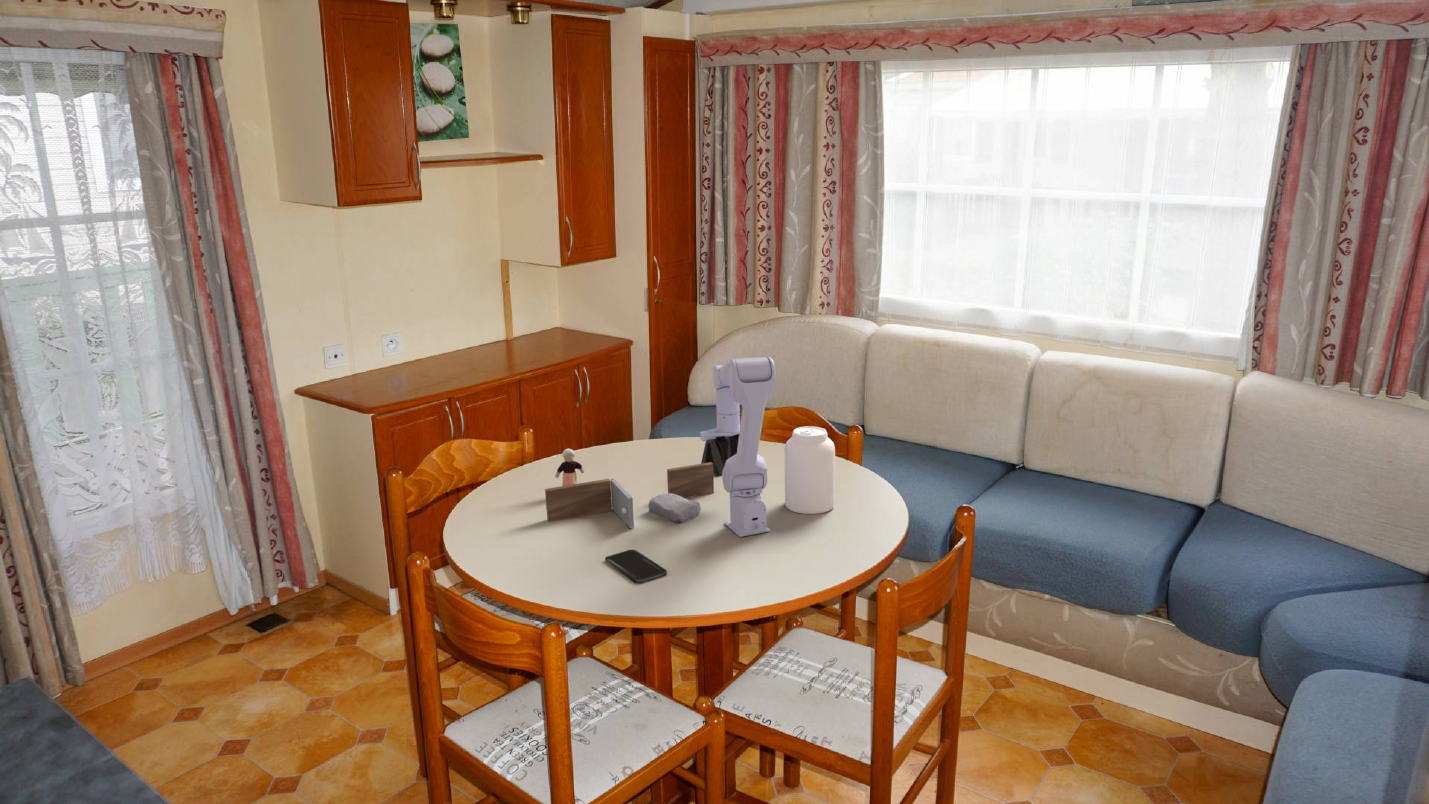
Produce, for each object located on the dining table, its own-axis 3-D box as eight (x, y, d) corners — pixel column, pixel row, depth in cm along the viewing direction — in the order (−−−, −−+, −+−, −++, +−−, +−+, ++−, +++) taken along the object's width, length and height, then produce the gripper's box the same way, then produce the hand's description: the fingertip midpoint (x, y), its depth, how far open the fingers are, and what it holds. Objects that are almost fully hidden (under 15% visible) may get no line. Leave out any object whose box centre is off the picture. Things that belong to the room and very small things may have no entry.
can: (809, 519, 239) (809, 441, 234) (774, 505, 248) (773, 429, 243) (845, 506, 247) (846, 430, 241) (809, 493, 256) (809, 419, 251)
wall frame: (713, 492, 258) (713, 463, 256) (548, 521, 242) (546, 490, 240) (711, 490, 259) (710, 462, 257) (547, 519, 243) (544, 489, 241)
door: (606, 508, 248) (605, 480, 246) (615, 506, 249) (613, 478, 247) (624, 529, 235) (623, 499, 233) (633, 527, 236) (632, 497, 234)
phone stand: (736, 471, 273) (735, 430, 270) (719, 476, 270) (718, 434, 266) (717, 463, 280) (716, 423, 277) (700, 468, 277) (699, 427, 274)
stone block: (673, 509, 253) (644, 512, 246) (676, 491, 252) (646, 494, 245) (705, 522, 245) (676, 526, 238) (708, 504, 244) (678, 507, 237)
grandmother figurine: (561, 499, 256) (558, 453, 252) (555, 495, 259) (551, 449, 256) (588, 493, 260) (585, 447, 256) (581, 489, 263) (578, 443, 260)
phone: (637, 581, 207) (603, 557, 219) (637, 586, 207) (603, 562, 219) (669, 571, 211) (634, 548, 223) (669, 576, 212) (634, 553, 224)
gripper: (747, 404, 251) (748, 455, 254) (694, 411, 245) (696, 463, 249) (759, 411, 244) (760, 463, 248) (705, 419, 239) (707, 471, 243)
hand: (729, 463), depth 248 cm, fingers closed
